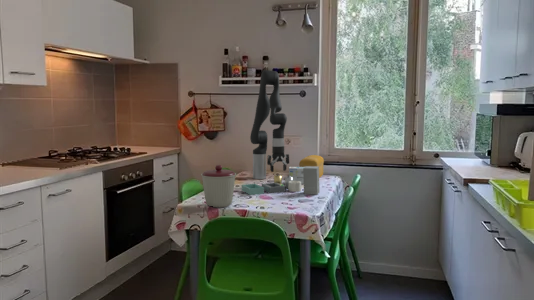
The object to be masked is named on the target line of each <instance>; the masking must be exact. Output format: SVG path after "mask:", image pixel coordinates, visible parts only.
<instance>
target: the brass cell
mask: <svg viewBox="0 0 534 300" xmlns="http://www.w3.org/2000/svg"><path fill="white" fill-rule="evenodd" d="M282 176H283V175H280V174H275V175H273V183H279V184H283V183H282V182H283V181H282V179H283V177H282Z"/></svg>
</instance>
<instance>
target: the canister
mask: <svg viewBox="0 0 534 300" xmlns="http://www.w3.org/2000/svg"><path fill="white" fill-rule="evenodd" d="M200 176H201V177H202V185H203V193H204V194H203V195H204V200H205V203H206V205H207V206H208V205H209V206H208V207H210V206H213V207H212V208H225V207H229V206H231V204H232V202H233V198H234V192H235V191H234V190H235V181H236V176H237V173H236V172H234V171H233V170H231V169H230V170H229V169H223V166H222V165H221V164H216V165H215V167H214V169H208V170H205V171H203V172H202V173H201V174H200Z"/></svg>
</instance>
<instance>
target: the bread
mask: <svg viewBox="0 0 534 300" xmlns="http://www.w3.org/2000/svg"><path fill="white" fill-rule="evenodd" d="M324 163H325V160H324V157H322V156H321V155H318V154H317V155H316V154H311V155H310V154H309V155H307V156H306V157H304V158H302V159H301V160H300V161H299V163H298V167H306V166H312V167H319V179H321V177H323V176H322V175H324Z"/></svg>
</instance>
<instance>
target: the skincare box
mask: <svg viewBox="0 0 534 300" xmlns="http://www.w3.org/2000/svg"><path fill="white" fill-rule="evenodd" d="M303 176H304V177H303V178H304V184H303V194H304V195H316V196H317V195H318V194H319V193H320V178H319V167H312V166H306V167H304V168H303Z"/></svg>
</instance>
